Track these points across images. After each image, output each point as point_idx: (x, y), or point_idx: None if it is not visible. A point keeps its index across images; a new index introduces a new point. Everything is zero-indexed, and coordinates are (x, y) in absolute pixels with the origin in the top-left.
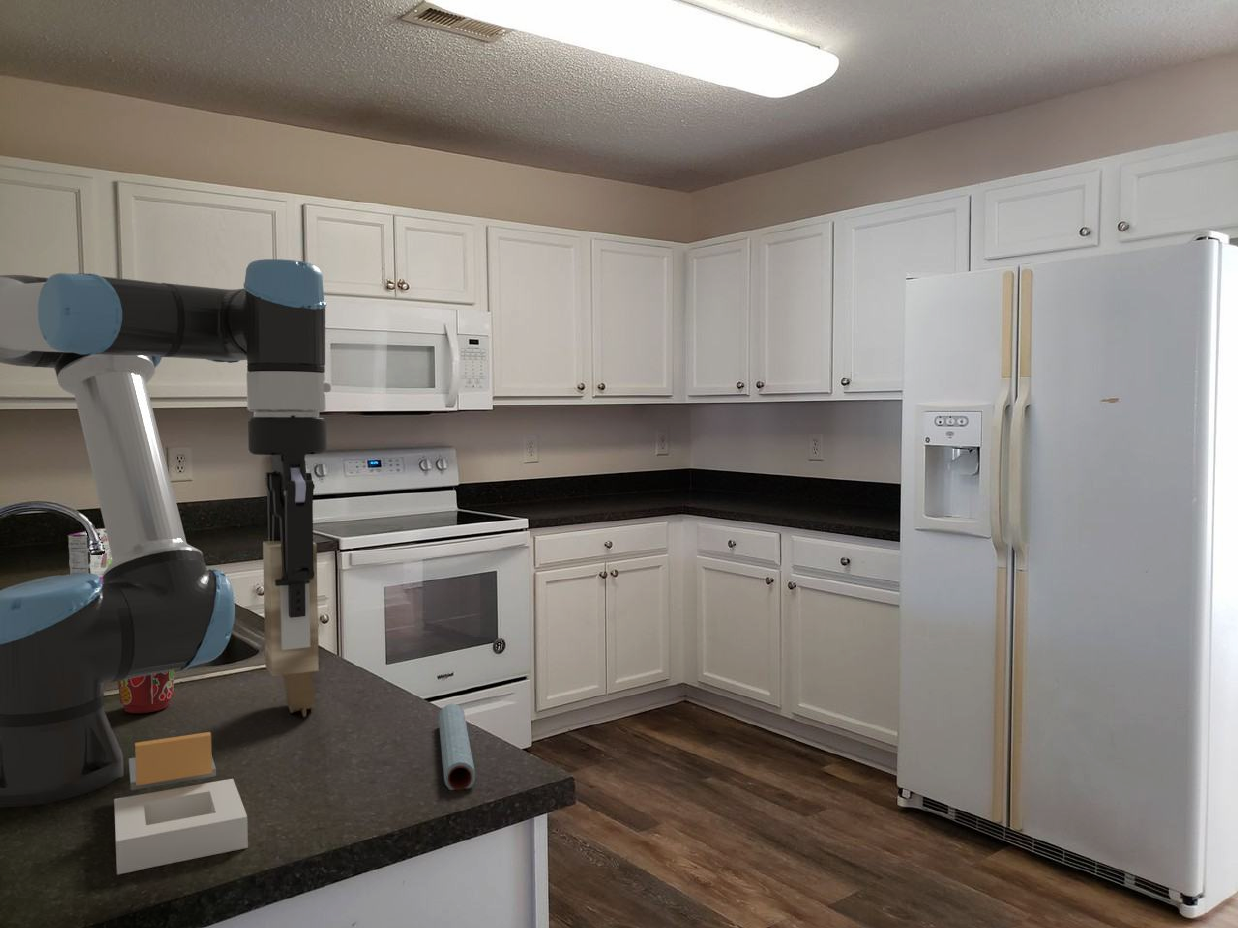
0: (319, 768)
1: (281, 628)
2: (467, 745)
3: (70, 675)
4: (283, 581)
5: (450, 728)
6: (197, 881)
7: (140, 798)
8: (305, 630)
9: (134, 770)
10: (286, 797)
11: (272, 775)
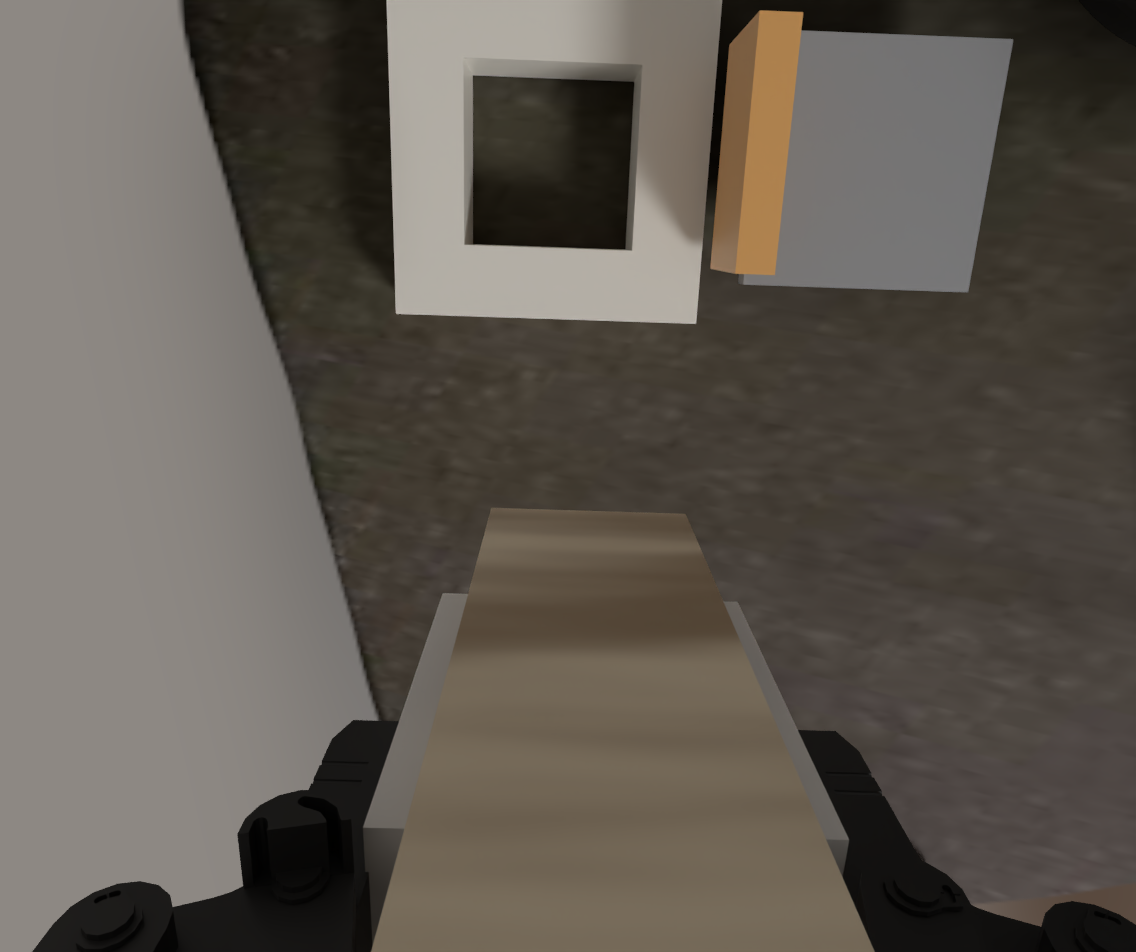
0: (822, 552)
1: (444, 646)
2: None
3: None
4: (254, 862)
5: None
6: (280, 174)
7: (682, 59)
8: None
9: (876, 49)
10: (671, 442)
11: (847, 440)
